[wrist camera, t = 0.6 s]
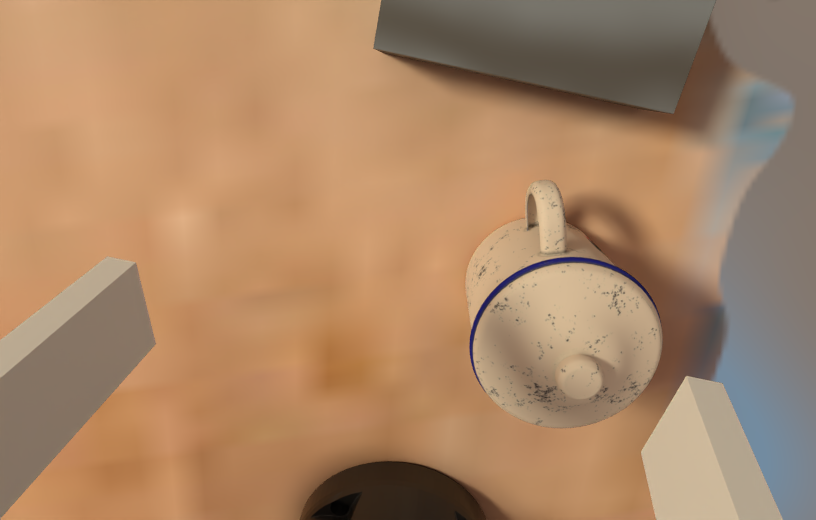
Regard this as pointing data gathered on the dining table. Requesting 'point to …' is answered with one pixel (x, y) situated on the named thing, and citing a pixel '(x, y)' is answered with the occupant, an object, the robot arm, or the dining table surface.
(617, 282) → the teacup with lid
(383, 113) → the dining table surface
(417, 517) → the robot arm
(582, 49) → the grey stand
